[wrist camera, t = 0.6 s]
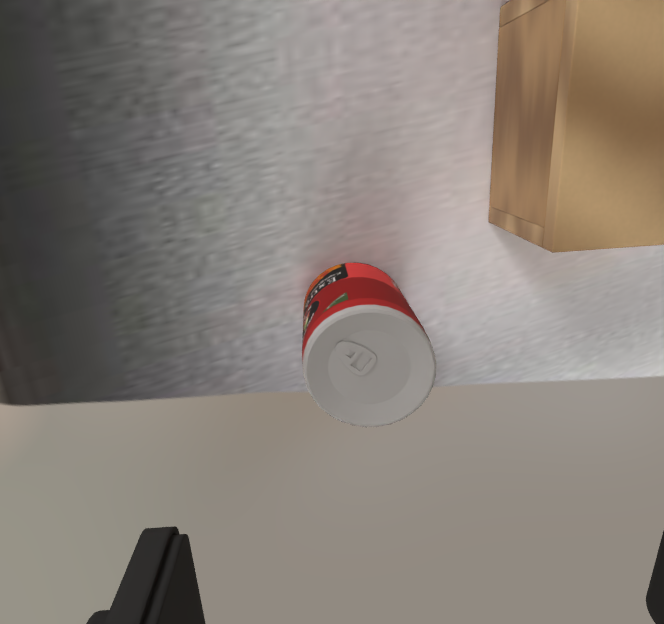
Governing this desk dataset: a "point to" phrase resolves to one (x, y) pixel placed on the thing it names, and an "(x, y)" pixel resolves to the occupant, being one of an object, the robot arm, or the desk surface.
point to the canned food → (364, 347)
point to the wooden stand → (580, 124)
